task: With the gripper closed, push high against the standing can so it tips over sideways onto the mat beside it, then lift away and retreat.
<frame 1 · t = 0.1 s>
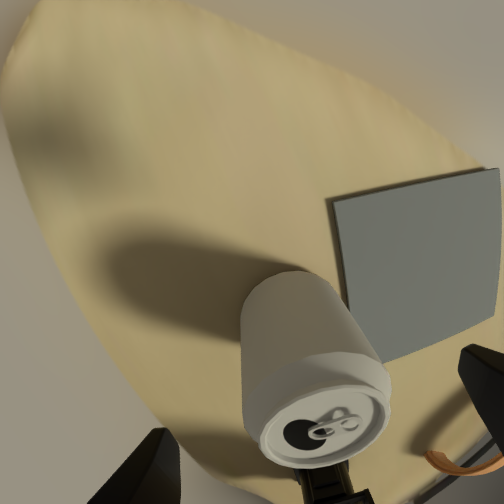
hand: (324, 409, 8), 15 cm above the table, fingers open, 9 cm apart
arch: (479, 409, 30), on the table
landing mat: (435, 270, 23), on the table
can: (289, 311, 23), on the table
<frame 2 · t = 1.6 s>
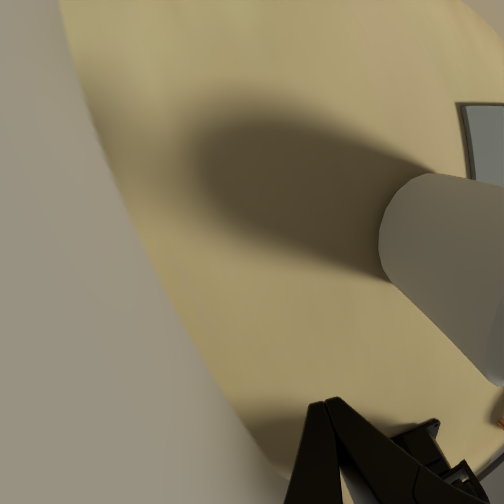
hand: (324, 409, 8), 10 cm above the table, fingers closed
can: (422, 231, 17), on the table
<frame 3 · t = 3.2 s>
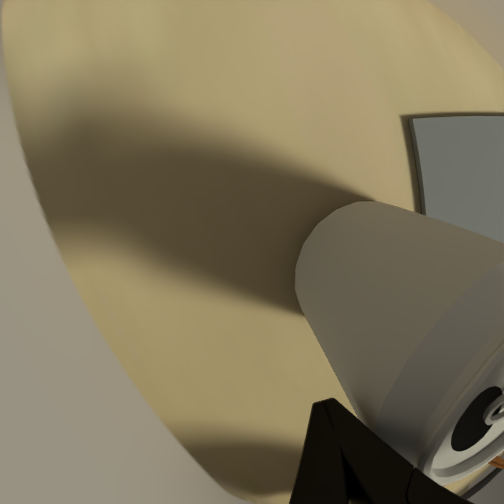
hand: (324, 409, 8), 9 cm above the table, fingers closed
can: (355, 266, 16), on the table, touching gripper
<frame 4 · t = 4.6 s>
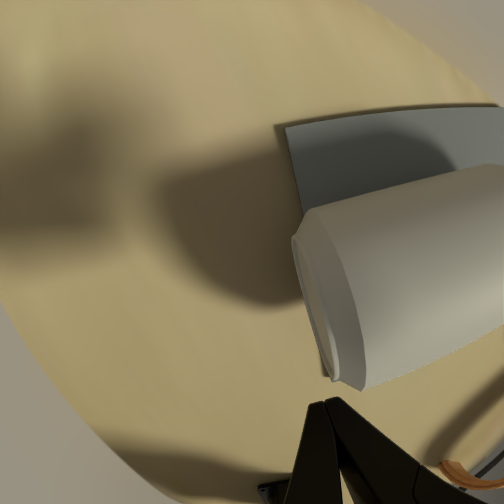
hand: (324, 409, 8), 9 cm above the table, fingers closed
arch: (503, 409, 23), on the table
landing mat: (443, 238, 16), on the table
can: (306, 309, 12), point 4 cm above the table, touching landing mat
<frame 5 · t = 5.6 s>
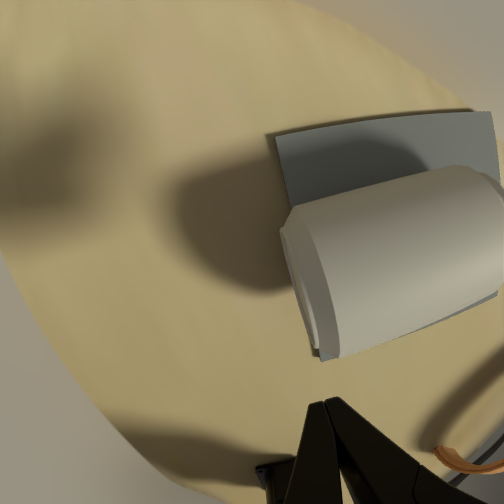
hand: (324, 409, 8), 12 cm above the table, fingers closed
arch: (495, 396, 26), on the table
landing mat: (419, 231, 18), on the table
can: (292, 290, 15), point 4 cm above the table, touching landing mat
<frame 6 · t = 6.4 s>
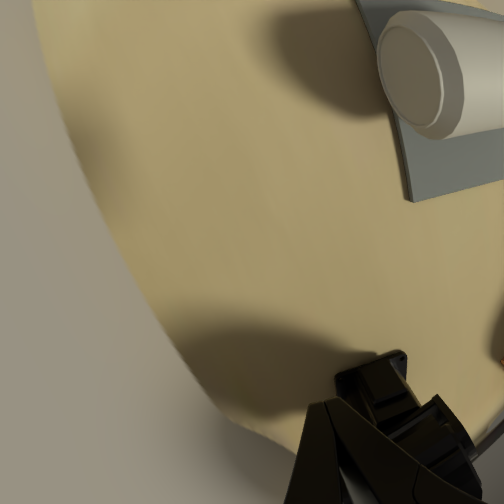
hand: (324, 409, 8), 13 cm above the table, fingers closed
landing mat: (471, 88, 16), on the table
can: (401, 76, 13), point 4 cm above the table, touching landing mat
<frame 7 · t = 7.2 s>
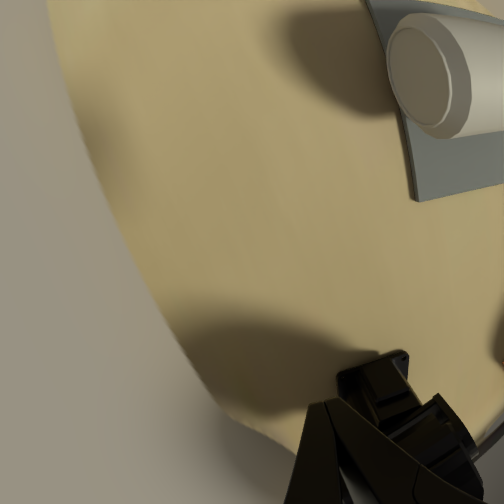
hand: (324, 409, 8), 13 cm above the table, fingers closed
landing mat: (477, 92, 17), on the table
can: (411, 76, 13), point 4 cm above the table, touching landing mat
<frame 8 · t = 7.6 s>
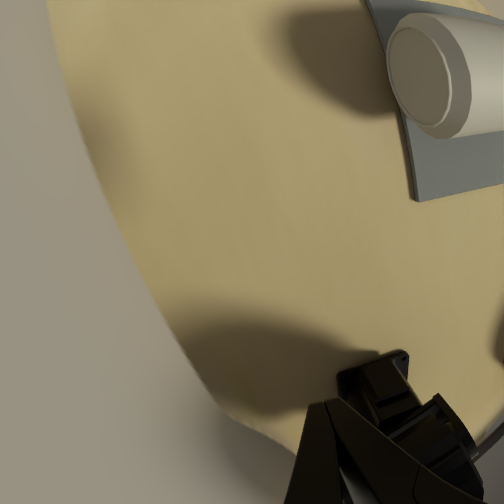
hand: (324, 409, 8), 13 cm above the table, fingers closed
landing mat: (477, 92, 17), on the table
can: (411, 76, 13), point 4 cm above the table, touching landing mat
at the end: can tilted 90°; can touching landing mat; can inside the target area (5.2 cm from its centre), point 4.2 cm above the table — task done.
